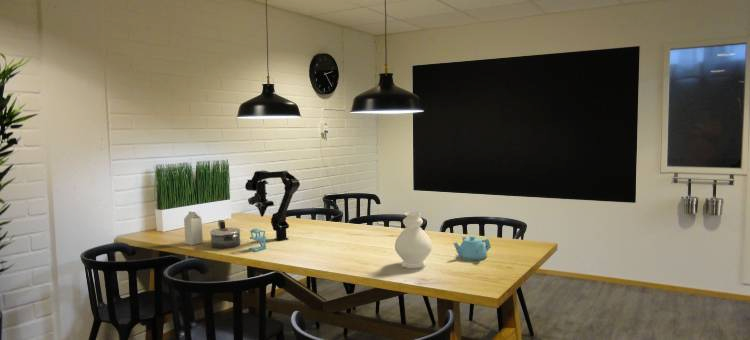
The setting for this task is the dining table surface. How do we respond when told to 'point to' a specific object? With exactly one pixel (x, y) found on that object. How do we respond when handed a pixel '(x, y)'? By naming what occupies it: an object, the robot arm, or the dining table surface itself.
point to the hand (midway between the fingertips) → (262, 216)
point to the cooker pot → (225, 241)
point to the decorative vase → (413, 242)
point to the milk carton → (193, 229)
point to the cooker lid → (224, 230)
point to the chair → (259, 238)
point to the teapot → (472, 248)
